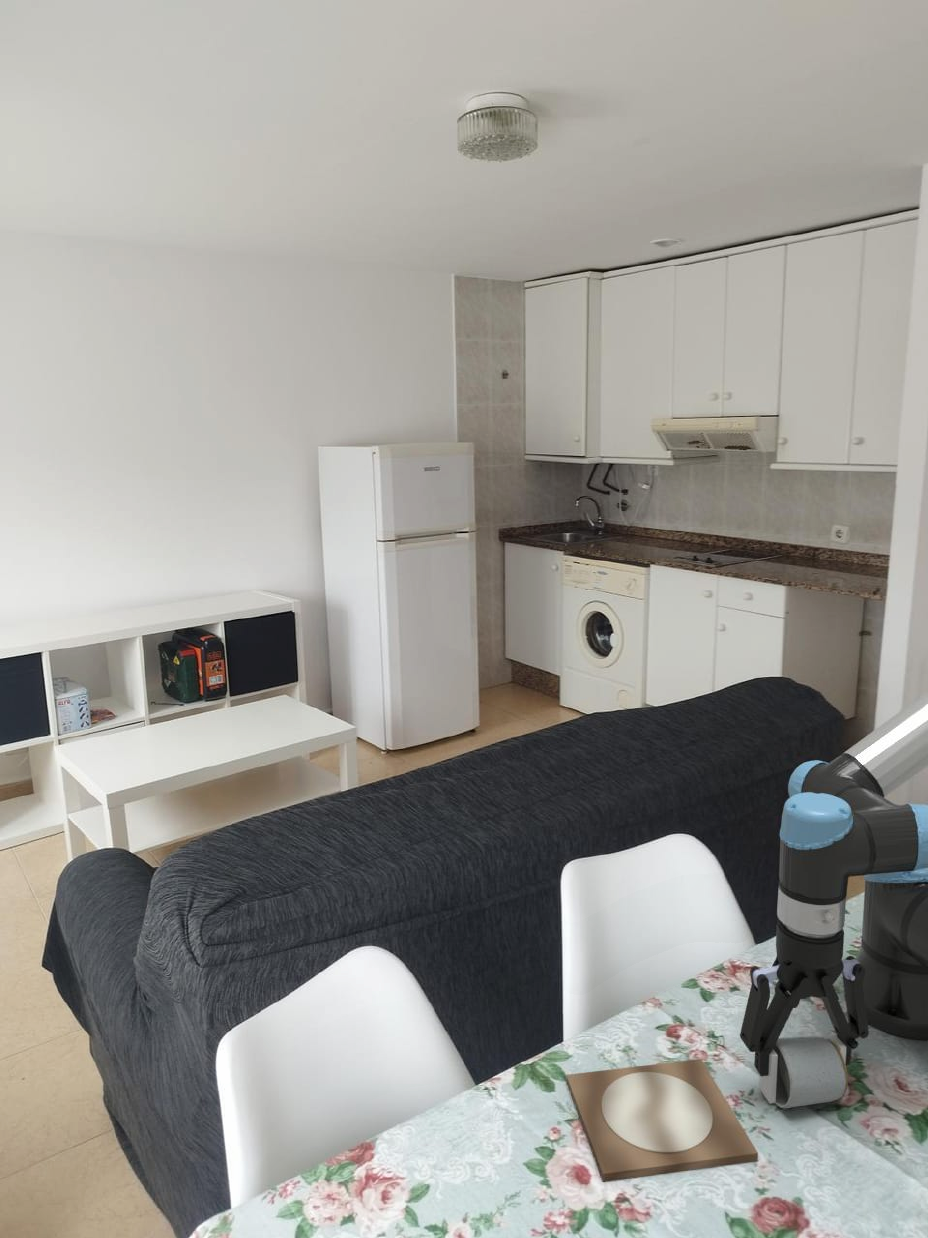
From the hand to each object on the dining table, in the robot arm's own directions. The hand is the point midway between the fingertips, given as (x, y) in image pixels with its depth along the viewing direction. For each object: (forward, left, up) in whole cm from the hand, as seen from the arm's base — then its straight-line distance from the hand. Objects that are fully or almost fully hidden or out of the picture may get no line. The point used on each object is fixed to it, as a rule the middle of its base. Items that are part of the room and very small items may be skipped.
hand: (801, 1091), depth 111 cm
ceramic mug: (0, -1, -1) cm, 1 cm away
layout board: (+19, +1, 0) cm, 19 cm away
